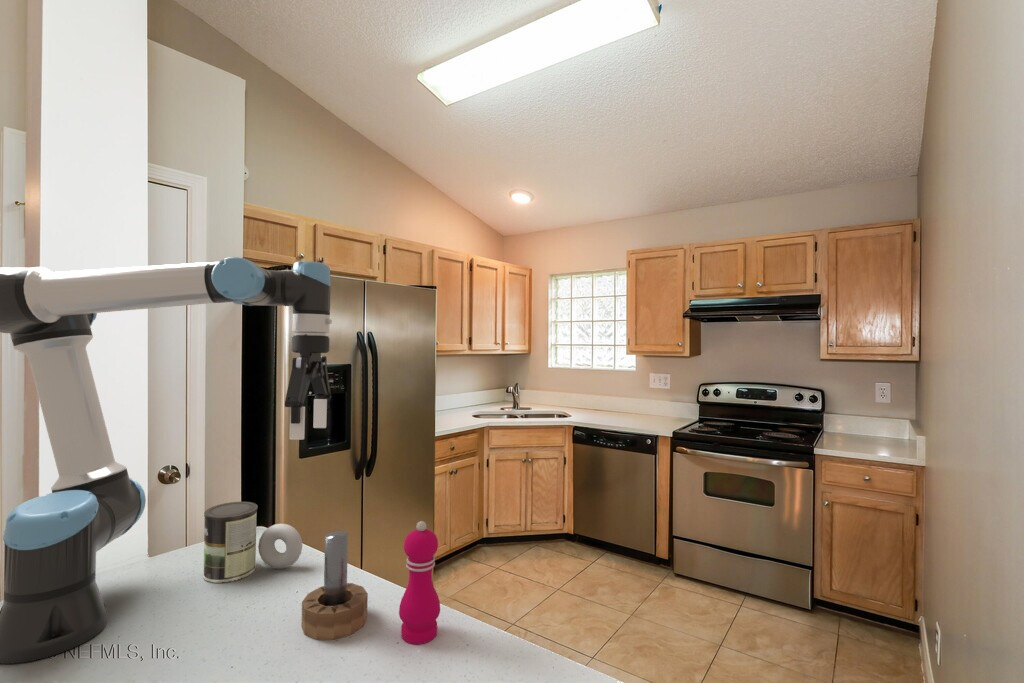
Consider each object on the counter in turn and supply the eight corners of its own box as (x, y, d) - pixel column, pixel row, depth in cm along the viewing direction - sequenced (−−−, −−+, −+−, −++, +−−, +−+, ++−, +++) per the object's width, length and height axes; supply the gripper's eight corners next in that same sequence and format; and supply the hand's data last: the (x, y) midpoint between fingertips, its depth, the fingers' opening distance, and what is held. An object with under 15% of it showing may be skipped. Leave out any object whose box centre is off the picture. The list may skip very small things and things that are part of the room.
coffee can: (196, 586, 104) (197, 518, 104) (210, 564, 114) (211, 503, 114) (251, 580, 107) (252, 514, 107) (260, 559, 117) (261, 499, 117)
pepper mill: (399, 649, 84) (401, 530, 84) (397, 625, 91) (399, 516, 91) (442, 643, 86) (444, 527, 86) (437, 620, 93) (439, 513, 93)
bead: (292, 639, 86) (293, 613, 86) (315, 606, 97) (315, 583, 97) (357, 639, 87) (357, 613, 87) (372, 606, 98) (372, 583, 98)
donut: (304, 566, 114) (305, 522, 114) (296, 573, 111) (297, 528, 111) (263, 563, 115) (264, 520, 115) (254, 570, 112) (255, 525, 112)
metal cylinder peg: (320, 628, 90) (321, 539, 90) (327, 615, 94) (329, 530, 94) (342, 628, 90) (344, 539, 90) (348, 615, 94) (350, 530, 94)
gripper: (307, 333, 95) (305, 445, 95) (345, 335, 120) (343, 423, 120) (267, 333, 95) (265, 444, 95) (313, 335, 120) (312, 423, 120)
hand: (309, 433), depth 108 cm, fingers open, 13 cm apart
